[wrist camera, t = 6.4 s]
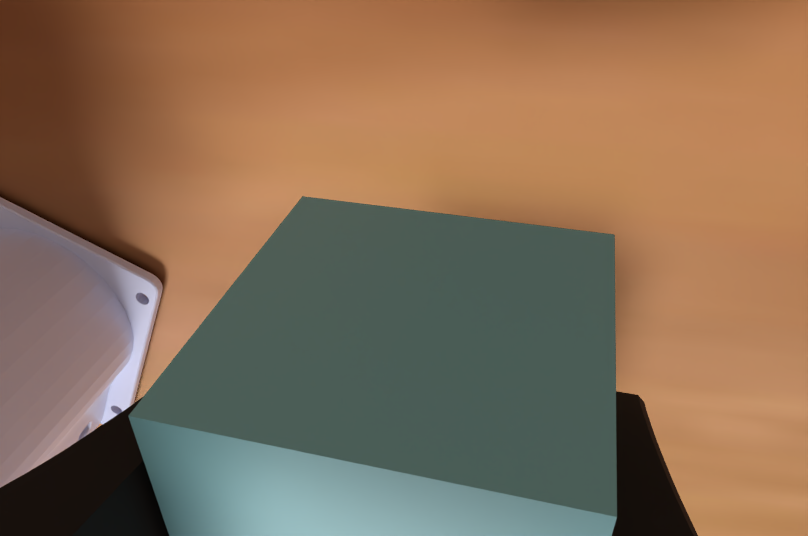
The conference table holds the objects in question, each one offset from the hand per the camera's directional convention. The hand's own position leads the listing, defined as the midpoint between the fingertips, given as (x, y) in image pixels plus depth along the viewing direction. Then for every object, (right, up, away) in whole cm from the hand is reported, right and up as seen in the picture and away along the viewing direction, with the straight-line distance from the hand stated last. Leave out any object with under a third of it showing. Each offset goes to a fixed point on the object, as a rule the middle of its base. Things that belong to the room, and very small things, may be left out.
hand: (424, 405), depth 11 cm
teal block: (0, +1, +1) cm, 2 cm away
